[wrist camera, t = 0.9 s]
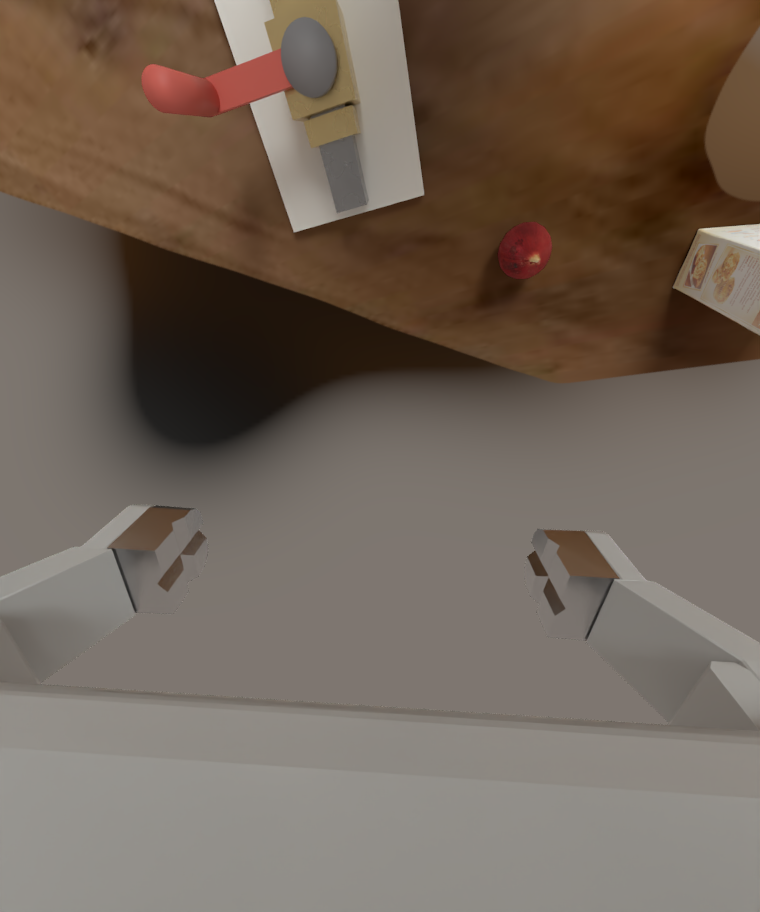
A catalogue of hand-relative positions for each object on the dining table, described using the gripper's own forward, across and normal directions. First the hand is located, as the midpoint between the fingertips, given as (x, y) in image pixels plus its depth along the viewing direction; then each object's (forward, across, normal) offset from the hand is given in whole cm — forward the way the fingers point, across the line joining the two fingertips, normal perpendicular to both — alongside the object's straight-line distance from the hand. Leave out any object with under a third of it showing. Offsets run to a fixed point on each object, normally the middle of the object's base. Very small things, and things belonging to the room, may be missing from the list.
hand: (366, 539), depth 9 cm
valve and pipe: (+42, +8, -23) cm, 49 cm away
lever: (+35, +12, -20) cm, 42 cm away
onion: (+46, -15, -10) cm, 50 cm away
